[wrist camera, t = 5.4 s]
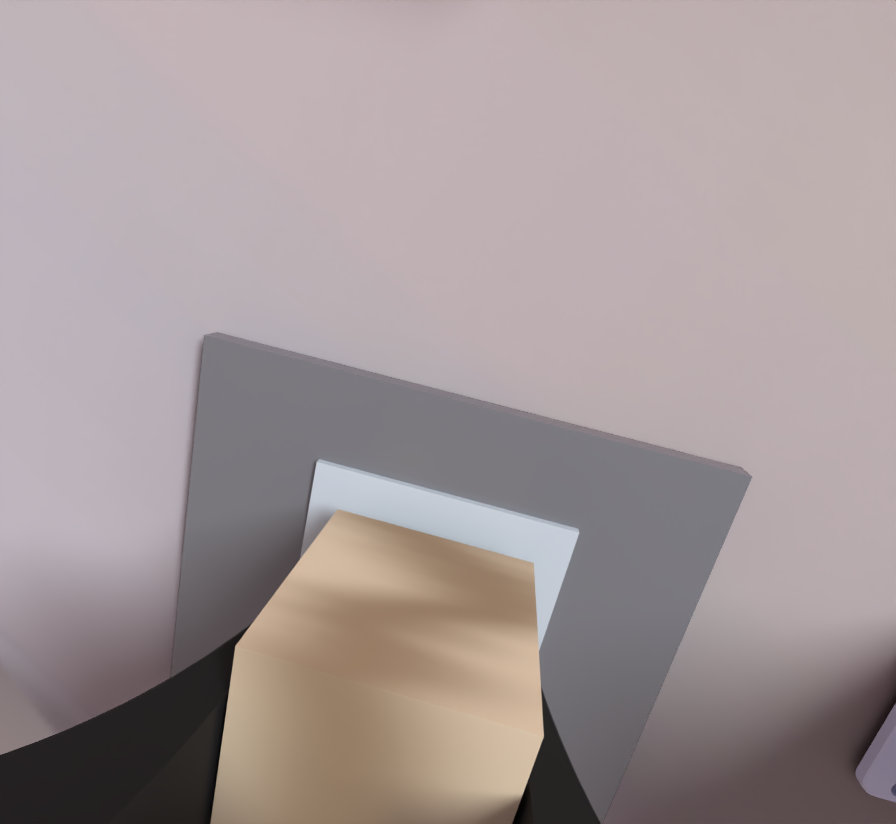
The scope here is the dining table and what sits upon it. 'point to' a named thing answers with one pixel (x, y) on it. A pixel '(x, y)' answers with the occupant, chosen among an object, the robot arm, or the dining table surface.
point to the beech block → (385, 686)
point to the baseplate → (456, 521)
